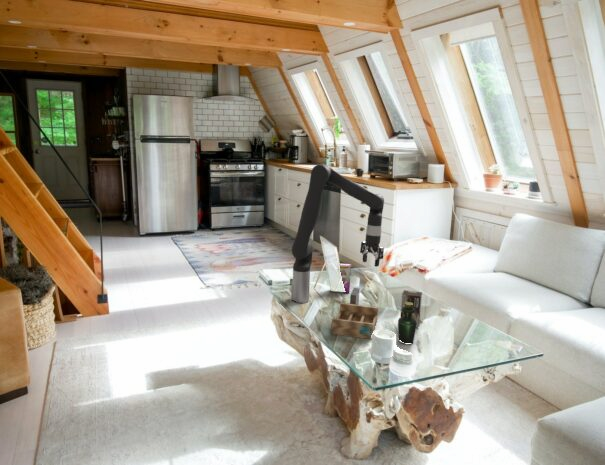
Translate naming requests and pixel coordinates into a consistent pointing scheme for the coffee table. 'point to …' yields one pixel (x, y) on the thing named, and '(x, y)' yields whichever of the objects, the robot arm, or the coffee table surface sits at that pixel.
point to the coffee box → (416, 300)
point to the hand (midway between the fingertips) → (370, 264)
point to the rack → (355, 320)
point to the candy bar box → (346, 275)
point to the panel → (354, 296)
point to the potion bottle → (407, 324)
